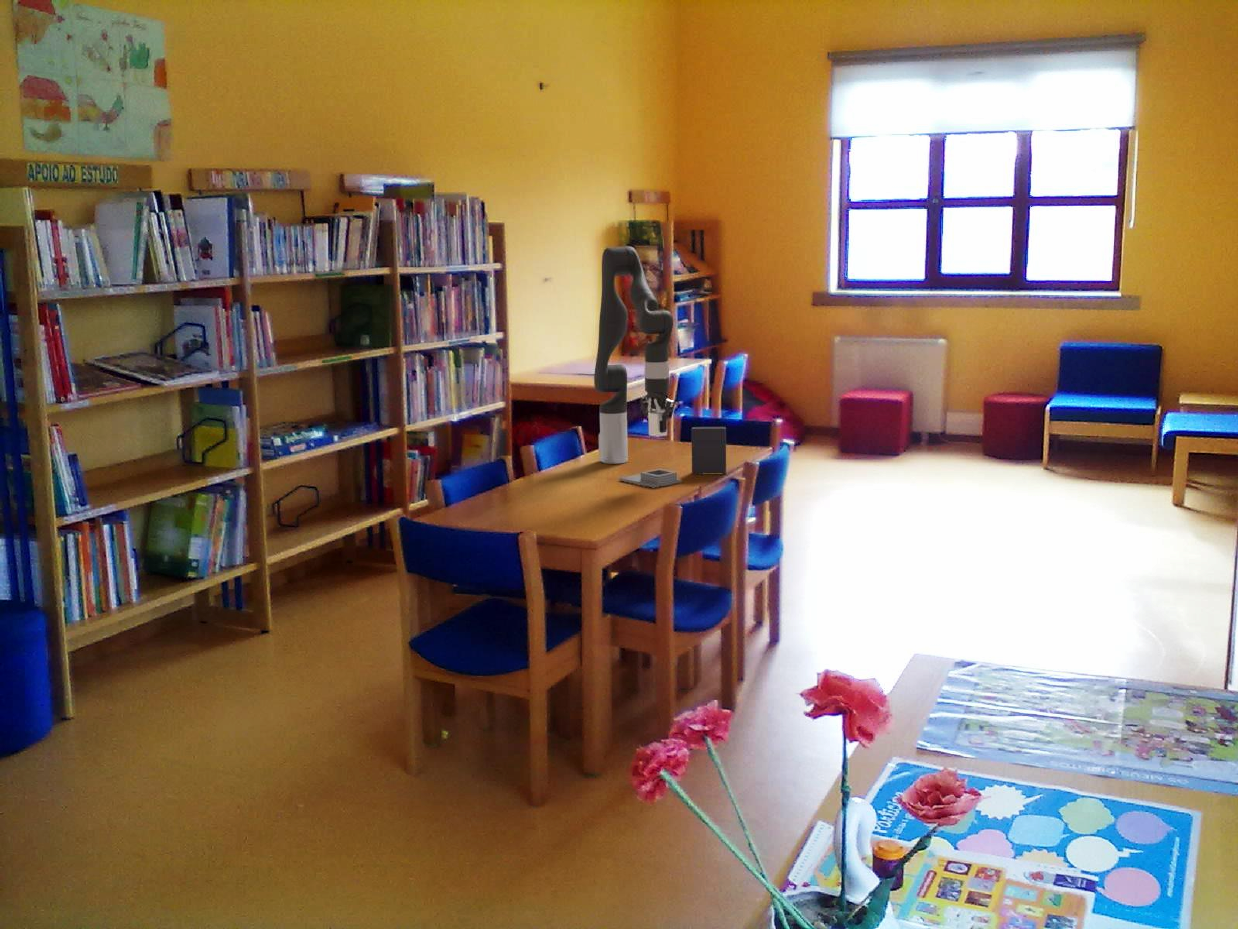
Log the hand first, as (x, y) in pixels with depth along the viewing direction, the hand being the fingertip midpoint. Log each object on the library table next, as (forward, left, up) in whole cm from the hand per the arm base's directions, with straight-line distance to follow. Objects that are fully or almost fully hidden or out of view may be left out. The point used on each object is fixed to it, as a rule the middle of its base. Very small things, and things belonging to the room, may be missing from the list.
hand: (657, 431), depth 371 cm
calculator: (0, +22, -17) cm, 28 cm away
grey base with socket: (-4, 0, -17) cm, 17 cm away
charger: (0, 0, -1) cm, 1 cm away
